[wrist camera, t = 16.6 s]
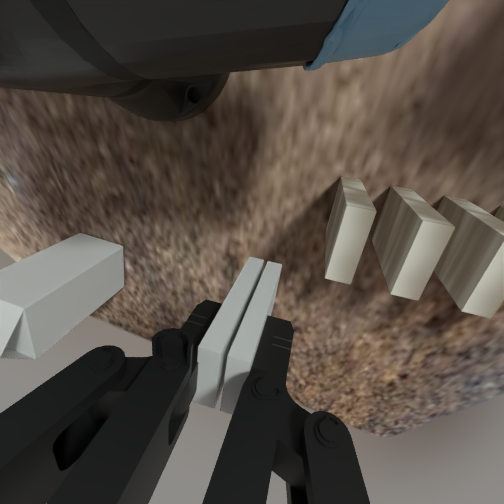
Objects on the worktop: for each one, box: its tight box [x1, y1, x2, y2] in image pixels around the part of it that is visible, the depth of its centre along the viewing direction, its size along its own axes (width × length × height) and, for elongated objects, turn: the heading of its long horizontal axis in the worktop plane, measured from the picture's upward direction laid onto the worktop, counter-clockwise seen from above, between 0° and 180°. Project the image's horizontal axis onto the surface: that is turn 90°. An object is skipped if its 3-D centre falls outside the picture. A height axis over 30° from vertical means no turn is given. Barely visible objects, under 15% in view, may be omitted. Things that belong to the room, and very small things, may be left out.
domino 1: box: [325, 177, 377, 284], centre depth 25 cm, size 2×6×11 cm, turn 172°
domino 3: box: [433, 196, 504, 318], centre depth 24 cm, size 2×6×11 cm, turn 172°
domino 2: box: [371, 186, 455, 301], centre depth 25 cm, size 2×6×11 cm, turn 172°
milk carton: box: [0, 233, 124, 359], centre depth 34 cm, size 7×7×19 cm
